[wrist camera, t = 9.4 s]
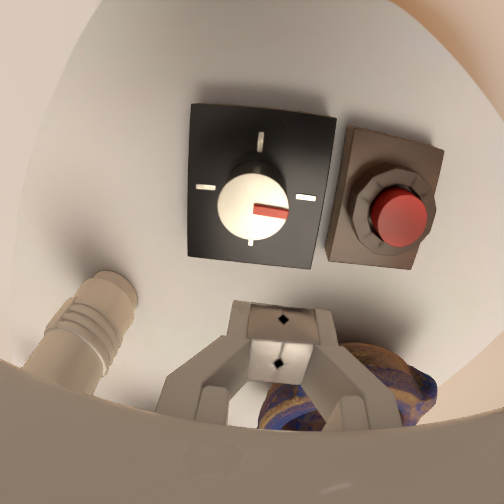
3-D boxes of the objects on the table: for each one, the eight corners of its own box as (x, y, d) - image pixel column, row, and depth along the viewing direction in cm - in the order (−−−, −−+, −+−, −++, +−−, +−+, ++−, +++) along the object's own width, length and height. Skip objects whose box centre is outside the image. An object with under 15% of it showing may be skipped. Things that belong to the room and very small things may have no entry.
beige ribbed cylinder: (118, 257, 29) (37, 366, 16) (153, 310, 32) (100, 426, 18) (76, 276, 30) (2, 371, 17) (109, 323, 33) (55, 423, 20)
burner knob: (221, 214, 23) (212, 236, 19) (229, 156, 21) (220, 169, 17) (280, 224, 23) (282, 247, 19) (291, 167, 21) (295, 181, 17)
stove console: (200, 102, 22) (190, 103, 19) (329, 115, 21) (337, 118, 19) (195, 240, 27) (186, 257, 25) (307, 252, 27) (310, 271, 24)
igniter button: (377, 182, 20) (385, 190, 19) (423, 192, 20) (433, 200, 19) (365, 233, 22) (371, 243, 21) (409, 239, 22) (418, 250, 20)
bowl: (239, 391, 38) (231, 457, 29) (304, 292, 29) (313, 372, 20) (351, 415, 40) (359, 472, 31) (430, 336, 31) (460, 399, 23)
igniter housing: (346, 125, 22) (360, 130, 18) (432, 145, 22) (456, 155, 18) (324, 249, 27) (331, 273, 23) (402, 258, 27) (418, 281, 23)
